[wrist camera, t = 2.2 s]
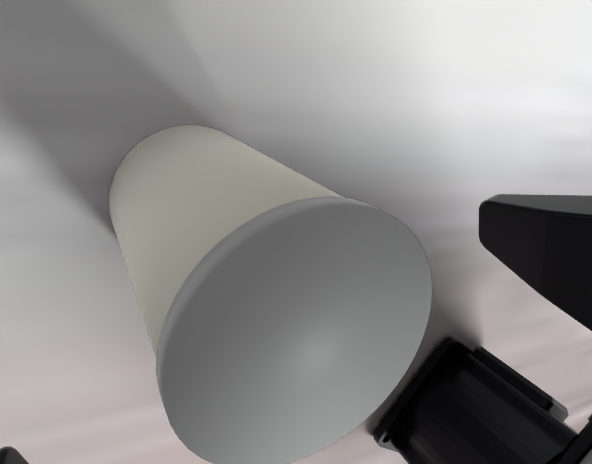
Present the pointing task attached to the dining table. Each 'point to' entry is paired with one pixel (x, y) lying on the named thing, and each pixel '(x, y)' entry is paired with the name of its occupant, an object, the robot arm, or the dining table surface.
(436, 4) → the dining table surface
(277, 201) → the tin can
